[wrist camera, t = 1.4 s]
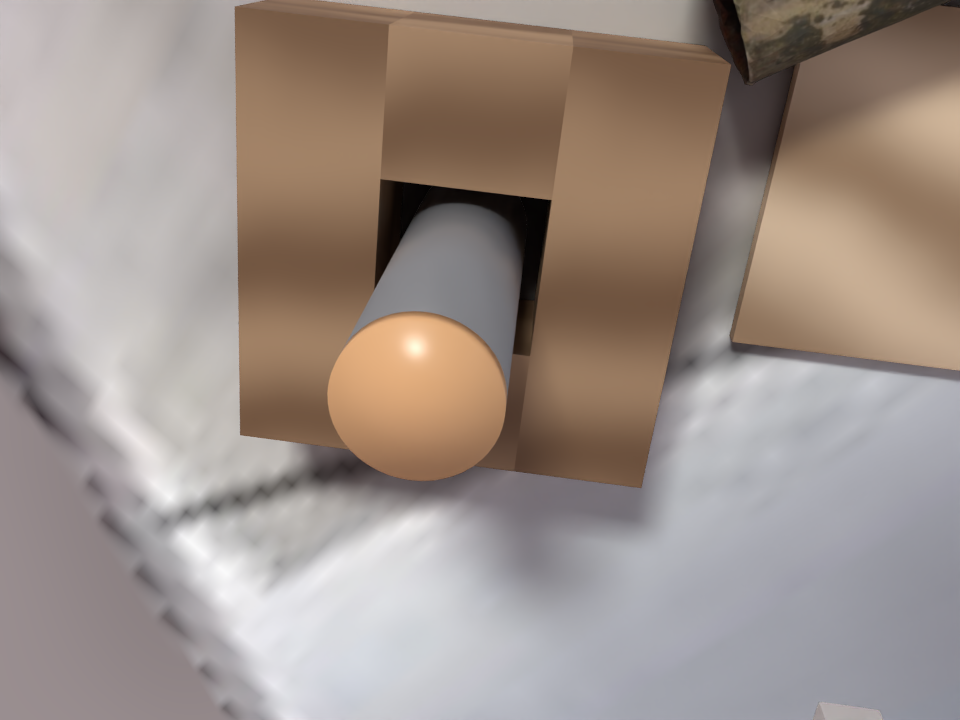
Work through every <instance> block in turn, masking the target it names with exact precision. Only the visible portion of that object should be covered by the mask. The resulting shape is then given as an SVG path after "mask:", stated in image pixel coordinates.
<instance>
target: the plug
mask: <svg viewBox="0 0 960 720" xmlns="http://www.w3.org/2000/svg"><path fill="white" fill-rule="evenodd" d="M526 236H527V216H526V211H525V208H524V205H523V203H522V201H521V199H520V197H519V196H514V195H506V194H498V193H490V192H482V191H474V190H465V189H457V188H449V187H441V186H432V187H431V188H430V190H429V191H428V192H427V194H426V195H425V197H424V198H423V200H422V202H421V204H420V206H419V208H418V210H417V212H416V213H415V215H414V217H413V219H412V221H411V223H410V225H409V226H408V228H407V230H406V232H405V234H404V236H403V238H402V240H401V241H400V243H399V245H398V247H397V249H396V251H395V253H394V254H393V256H392V258H391V260H390V262H389V264H388V266H387V268H386V269H385V271H384V273H383V275H382V277H381V279H380V281H379V283H378V284H377V286H376V288H375V290H374V292H373V294H372V296H371V297H370V299H369V301H368V303H367V305H366V307H365V309H364V311H363V312H362V314H361V316H360V318H359V320H358V322H357V324H356V325H355V327H354V329H353V331H352V333H351V335H350V337H349V339H348V340H347V342H346V344H345V346H344V348H343V350H342V352H341V354H340V355H339V357H338V359H337V361H336V363H335V365H334V367H333V370H332V372H331V375H330V379H329V383H328V392H327V396H328V407H329V413H330V416H331V419H332V422H333V425H334V427H335V429H336V431H337V433H338V435H339V436H340V438H341V439H342V441H343V442H344V443H345V445H346V446H347V447H348V448H349V449H350V450H351V451H352V452H353V453H354V454H355V455H356V456H357V457H358V458H359V459H361V460H362V461H363V462H365V463H366V464H367V465H369V466H371V467H373V468H374V469H376V470H378V471H380V472H383V473H385V474H387V475H390V476H394V477H397V478H401V479H406V480H414V481H433V480H439V479H445V478H448V477H452V476H455V475H457V474H460V473H462V472H464V471H466V470H468V469H469V468H471V467H473V466H474V465H476V464H477V463H478V462H479V461H481V460H482V459H483V458H484V457H485V456H486V455H487V454H488V453H489V451H490V450H491V449H492V447H493V446H494V445H495V443H496V441H497V439H498V437H499V435H500V433H501V430H502V427H503V423H504V418H505V412H506V403H507V395H508V387H509V378H510V370H511V362H512V353H513V345H514V337H515V328H516V320H517V312H518V303H519V295H520V287H521V278H522V270H523V262H524V253H525V245H526Z"/></svg>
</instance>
